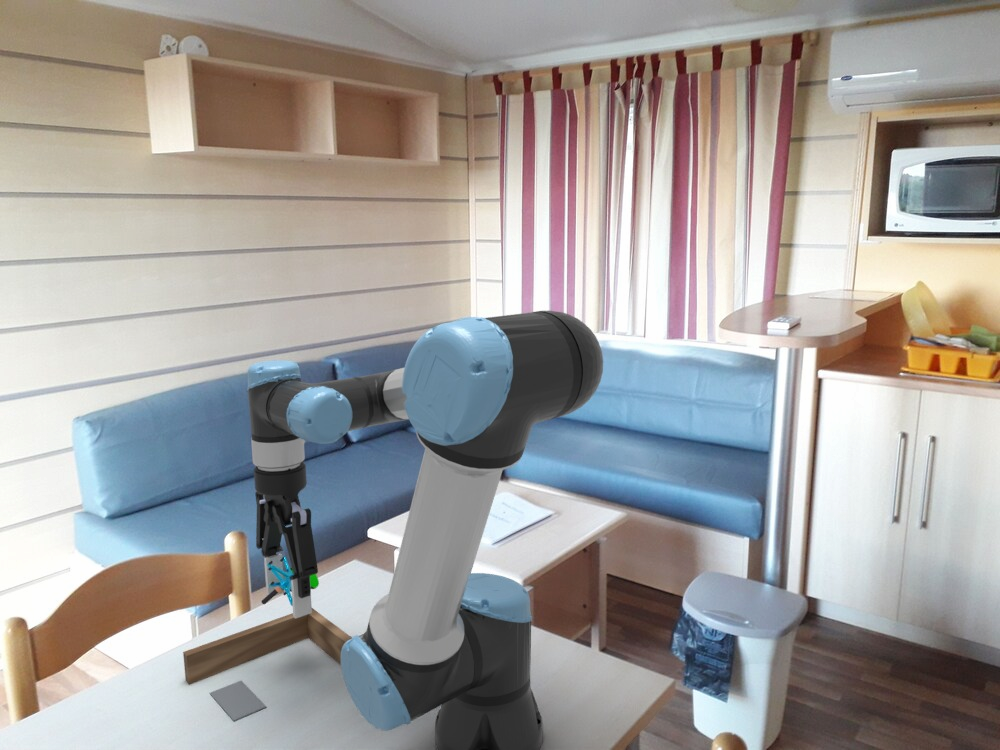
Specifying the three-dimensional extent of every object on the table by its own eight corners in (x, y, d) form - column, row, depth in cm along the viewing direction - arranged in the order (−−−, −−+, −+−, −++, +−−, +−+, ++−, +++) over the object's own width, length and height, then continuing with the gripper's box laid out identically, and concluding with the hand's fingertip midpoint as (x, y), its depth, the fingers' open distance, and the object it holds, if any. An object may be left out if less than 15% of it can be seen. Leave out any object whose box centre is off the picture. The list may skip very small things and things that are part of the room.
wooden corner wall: (360, 671, 125) (358, 642, 124) (226, 729, 111) (224, 697, 110) (312, 633, 137) (310, 606, 136) (185, 681, 123) (183, 652, 122)
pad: (266, 707, 116) (266, 706, 116) (233, 721, 113) (233, 720, 113) (241, 681, 123) (241, 680, 123) (209, 694, 120) (209, 692, 119)
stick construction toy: (293, 597, 115) (267, 555, 118) (260, 626, 116) (234, 583, 119) (334, 591, 127) (309, 552, 129) (303, 617, 127) (279, 578, 130)
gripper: (337, 474, 112) (345, 621, 116) (271, 445, 127) (280, 575, 131) (288, 486, 107) (298, 638, 111) (226, 454, 122) (237, 589, 126)
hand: (288, 604), depth 121 cm, fingers closed on stick construction toy, 8 cm apart
